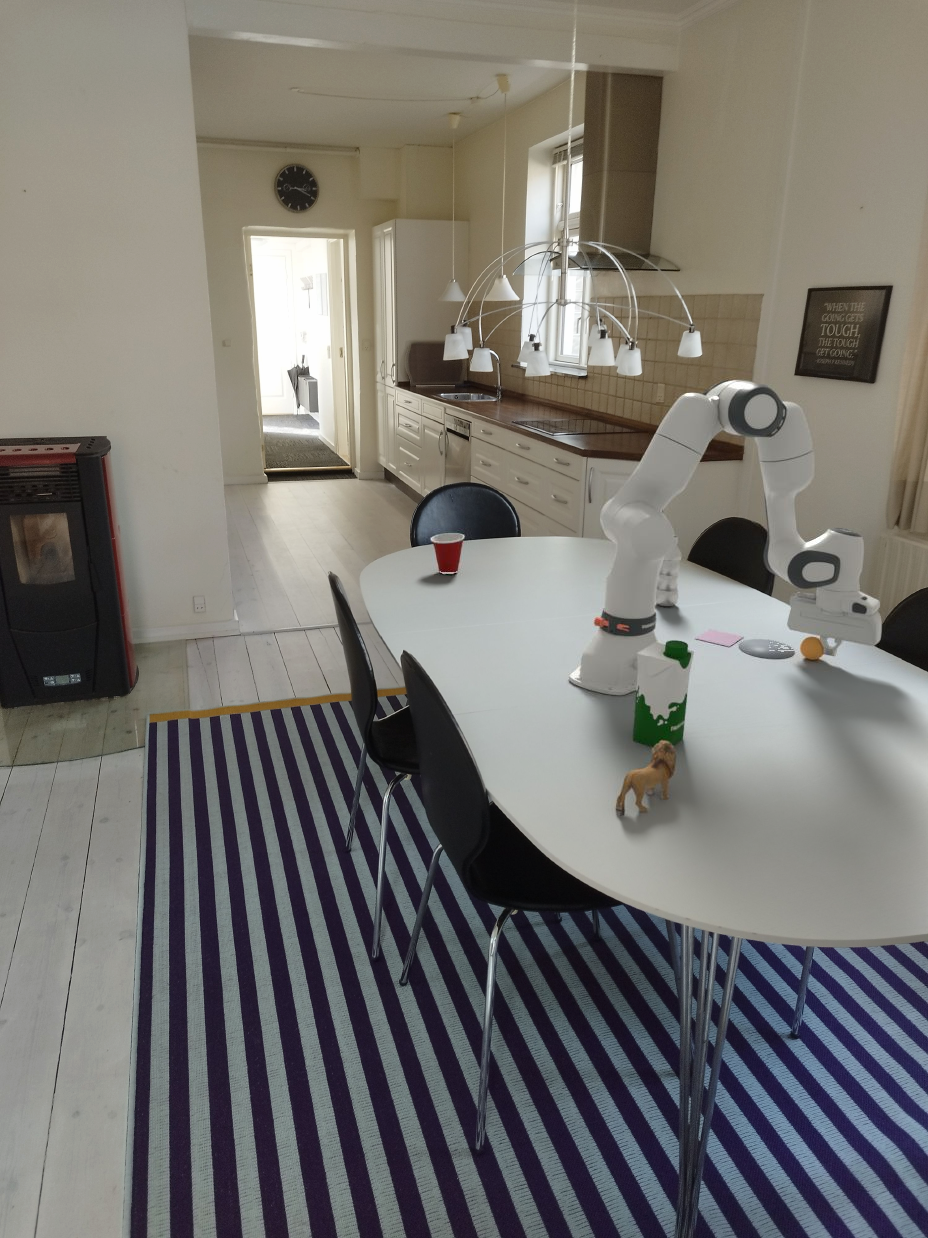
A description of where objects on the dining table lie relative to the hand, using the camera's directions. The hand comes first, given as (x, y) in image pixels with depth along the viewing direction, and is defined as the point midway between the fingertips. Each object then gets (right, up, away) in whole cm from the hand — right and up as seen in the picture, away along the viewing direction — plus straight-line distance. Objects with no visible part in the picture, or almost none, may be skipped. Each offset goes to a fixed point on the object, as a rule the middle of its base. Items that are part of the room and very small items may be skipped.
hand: (829, 654), depth 200 cm
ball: (-3, +1, +2) cm, 4 cm away
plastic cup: (-91, +23, +73) cm, 119 cm away
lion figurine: (-55, -22, -57) cm, 83 cm away
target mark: (-12, +1, +9) cm, 15 cm away
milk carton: (-49, -15, -37) cm, 63 cm away
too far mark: (-21, +4, +16) cm, 27 cm away
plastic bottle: (-29, +12, +42) cm, 52 cm away
